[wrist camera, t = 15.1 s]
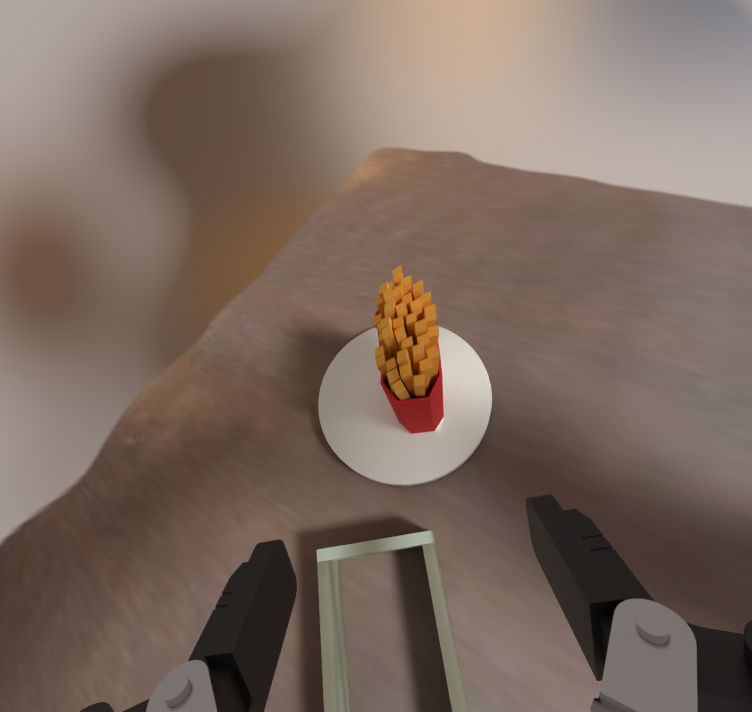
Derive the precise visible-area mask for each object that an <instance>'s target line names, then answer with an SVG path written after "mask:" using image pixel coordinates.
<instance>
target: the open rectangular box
mask: <svg viewBox="0 0 752 712" xmlns="http://www.w3.org/2000/svg"><path fill="white" fill-rule="evenodd" d="M421 546H422V547H423V552H424V558H425V563H426V569H427V574H428V580H429V586H430V591H431V597H432V602H433V608H434V613H435V619H436V624H437V630H438V635H439V641H440V646H441V652H442V657H443V663H444V669H445V674H446V680H447V685H448V691H449V696H450V702H451V707H452V712H468V709H467V703H466V698H465V693H464V688H463V683H462V678H461V673H460V668H459V663H458V658H457V653H456V648H455V643H454V638H453V633H452V627H451V622H450V617H449V612H448V607H447V602H446V597H445V592H444V587H443V582H442V577H441V572H440V567H439V562H438V556H437V551H436V546H435V541H434V536H433V532H432V531H431V530H430V531H424V532H418V533H412V534H406V535H401V536H395V537H389V538H383V539H377V540H371V541H365V542H359V543H353V544H347V545H341V546H335V547H329V548H324V549H318V550H317V569H318V591H319V612H320V634H321V655H322V677H323V698H324V712H350V704H349V690H348V677H347V663H346V650H345V636H344V622H343V609H342V595H341V582H340V568H339V560H342V559H348V558H355V557H361V556H367V555H373V554H379V553H385V552H391V551H397V550H403V549H409V548H415V547H421Z"/></svg>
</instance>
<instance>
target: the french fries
mask: <svg viewBox="0 0 752 712" xmlns="http://www.w3.org/2000/svg"><path fill="white" fill-rule="evenodd" d="M393 277H394V283H395V288H394V285H393V281H391V282H389V283H387V282H385V283H384V284H382V285H381V286H379V295H380V296H379V297H378V298H377V299H376V302H377V306H378V311H377V312H376V314H375V315H376V316H375V317H374V326H375V327H376V329H377V331H378V339H379V340H378V341H379V347H378V348H376V349H375V358H376V364H377V368H378V370H379V371H380V372H381V380H380V384H381V386H382V388H383V390H384V392H385V394H386V396H387V398H388V400H389V402H390V404H391V406H392V408H393V411H394V413H395V415H396V417H397V419H398V421H399V422H400V423H401V424H402V425H403V426H404V427H405V428H406V429H407V430H408V431H409V432H410V433H411V434H414V433H423V432H431V431H435V430H436V428H437V427H438V425H439V423H440V422H441V420H442V419H443V417H444V408H443V380H442V367H441V358H440V351H439V344H438V338H439V325H437V326H435V325H436V309H435V304H433V305H431V291H430V292H428V293H425V294H423V280H421V281H419V282H417V283H415V284H413V291H411V275H410V276H408V277H405V278H403V273H402V267H401V265H400V266H399V267H397V268H396V269H394V270H393Z"/></svg>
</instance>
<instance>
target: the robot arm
mask: <svg viewBox="0 0 752 712" xmlns="http://www.w3.org/2000/svg"><path fill="white" fill-rule="evenodd" d="M526 507H527V514H528V521H529V528H530V534H531V540H532V544H533V548H534V551H535V554H536V557H537V559H538V561H539V563H540V565H541V568H542V570H543V572H544V574H545V576H546V578H547V580H548V582H549V584H550V586H551V588H552V590H553V592H554V594H555V596H556V598H557V600H558V602H559V604H560V606H561V608H562V610H563V612H564V614H565V616H566V618H567V620H568V622H569V625H570V627H571V629H572V631H573V633H574V635H575V637H576V639H577V641H578V643H579V645H580V647H581V649H582V651H583V653H584V655H585V657H586V659H587V661H588V663H589V665H590V667H591V669H592V671H593V673H594V675H595V677H596V680H597V681H601V680H602V684H601V690H600V694H599V697H598V699H597V698H594V700H593V702H592V705H591V709H590V712H752V620H751V621H750V622H748V623H747V625H746V626H745V630H744V634H738V633H732V632H726V631H720V630H714V629H708V628H703V627H698V626H695V625H692V624H689V623H687V622H685V621H684V620H683V619H682V618H681V617H680V616H679V615H677V614H676V613H675V612H673V611H672V610H670V609H669V608H667V607H665V606H663V605H662V604H659V603H657V602H655V601H654V600H653V599H652V598H651V596H650V595H649V594H648V593H647V591H646V590H645V589H644V587H643V586H642V585H641V584H640V582H639V581H638V580H637V578H636V577H635V576H634V574H633V573H632V572H631V571H630V569H629V568H628V567H627V565H626V564H625V563H624V561H623V560H622V559H621V558H620V556H619V555H618V554H617V552H616V551H615V550H613V549H612V546H611V545H610V543H609V542H608V541H607V539H606V538H605V537H603V535H602V533H601V532H600V530H599V529H598V528H597V527H596V525H595V524H594V523H593V521H592V520H591V519H589V518H588V517H586V516H585V515H583V514H582V513H580V512H579V511H577V510H576V509H571V510H565V511H563V510H562V509H561V507H560V506H559V504H558V503H557V501H556V500H555V498H554V497H553V496H552V495H551V494H549V495H543V496H537V497H531V498H526ZM296 591H297V583H296V576H295V573H294V570H293V567H292V564H291V562H290V559H289V556H288V553H287V550H286V548H285V545H284V543H283V541H282V540H274V541H268V542H262V543H258V544H257V545H256V547H255V549H254V551H253V553H252V555H251V557H250V559H249V561H248V562H245V563H242V564H241V566H240V567H239V568H238V569H237V570H236V571H235V572H234V573H233V575H232V576H231V577H230V579H229V580H228V582H227V584H226V586H225V588H224V590H223V592H222V596H220V598H219V600H218V602H217V604H216V609H215V610H213V612H212V614H211V616H210V618H209V620H208V622H207V624H206V626H205V628H204V630H203V632H202V634H201V636H200V638H199V640H198V642H197V644H196V646H195V648H194V650H193V652H192V654H191V656H190V658H189V660H188V662H186V663H184V664H182V665H180V666H178V667H177V668H175V669H174V670H173V671H171V672H170V673H169V674H168V675H167V676H166V677H165V678H164V679H163V680H162V681H161V682H160V684H159V685H158V686H157V687H156V689H155V690H154V692H153V694H152V696H151V698H150V699H148V700H146V701H144V702H142V703H140V704H138V705H136V706H134V707H131V708H129V709H127V710H125V711H123V712H264V709H265V705H266V702H267V698H268V695H269V691H270V687H271V684H272V680H273V677H274V673H275V670H276V666H277V662H278V659H279V655H280V652H281V648H282V644H283V641H284V637H285V634H286V630H287V627H288V623H289V619H290V616H291V612H292V609H293V605H294V601H295V598H296ZM80 712H114V711H113V709H112V708H111V706H110V705H109V704H108V703H104V702H101V703H96V704H93V705H91V706H88V707H87V708H85V709H83V710H82V711H80Z"/></svg>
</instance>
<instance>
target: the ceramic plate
mask: <svg viewBox="0 0 752 712" xmlns="http://www.w3.org/2000/svg"><path fill="white" fill-rule="evenodd" d="M435 326H436V325H435ZM378 340H379V339H378V331H377V329H376V327H375V328H373V329H370V330H368V331H366V332H364V333H362V334H360V335H359V336H357V337H356V338H354V339H353V340H352V341H350V342H349V343H348V344H347V345H346V346H345V347H344V348H343V349H342V350H341V351H340V352H339V353H338V354H337V355H336V357H335V358H334V359H333V361H332V362H331V364H330V365H329V367H328V369H327V371H326V373H325V375H324V378H323V380H322V384H321V387H320V392H319V399H318V412H319V419H320V424H321V427H322V431H323V433H324V435H325V438H326V440H327V442H328V443H329V445H330V447H331V448H332V450H333V451H334V452H335V453H336V455H337V456H338V457H339V458H340V459H341V460H342V461H343V462H344V463H345V464H347V465H348V466H349V467H350V468H351V469H352V470H354V471H355V472H357V473H358V474H360V475H361V476H363V477H365V478H367V479H369V480H371V481H374V482H377V483H381V484H384V485H390V486H399V487H410V486H419V485H423V484H427V483H431V482H434V481H436V480H439V479H441V478H444V477H445V476H447V475H449V474H451V473H452V472H454V471H455V470H457V469H458V468H459V467H460V466H462V465H463V464H464V463H465V462H466V461H467V460H468V459H469V458H470V457H471V456H472V455H473V453H474V452H475V450H476V449H477V448H478V446H479V445H480V443H481V441H482V439H483V437H484V435H485V432H486V429H487V426H488V423H489V418H490V413H491V408H492V392H491V384H490V381H489V377H488V374H487V371H486V369H485V367H484V365H483V363H482V361H481V359H480V358H479V356H478V355H477V354H476V352H475V351H474V350H473V349H472V348H471V347H470V346H469V345H468V344H467V343H466V342H465V341H464V340H463V339H461V338H460V337H459V336H457V335H456V334H454V333H452V332H450V331H449V330H446V329H444V328H442V327H439V338H438V344H439V351H440V358H441V367H442V380H443V408H444V417H443V419H442V420H441V422H440V423H439V425H438V427H437V428H436V430H435V431H431V432H423V433H414V434H411V433H410V432H409V431H408V430H407V429H406V428H405V427H404V426H403V425H402V424H401V423H400V422H399V421H398V419H397V417H396V415H395V413H394V411H393V408H392V406H391V404H390V402H389V400H388V398H387V396H386V394H385V392H384V390H383V388H382V386H381V384H380V380H381V372H380V371H379V370H378V368H377V364H376V358H375V349H376V348H378V347H379V341H378Z"/></svg>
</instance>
